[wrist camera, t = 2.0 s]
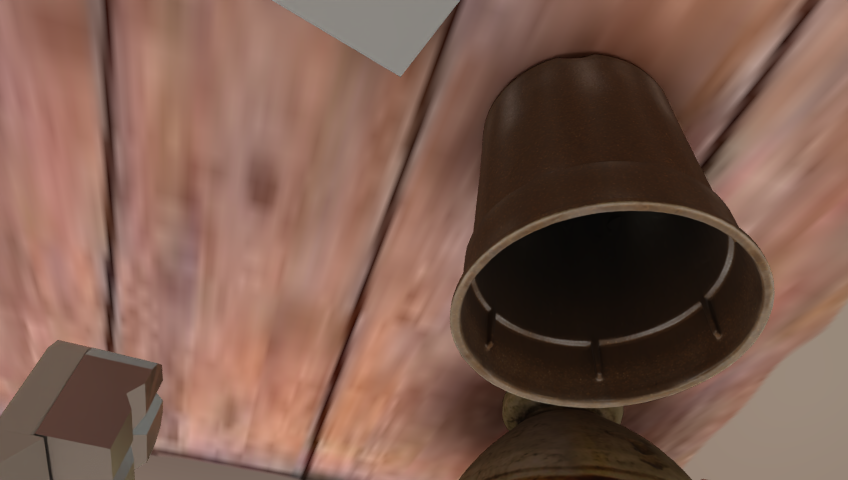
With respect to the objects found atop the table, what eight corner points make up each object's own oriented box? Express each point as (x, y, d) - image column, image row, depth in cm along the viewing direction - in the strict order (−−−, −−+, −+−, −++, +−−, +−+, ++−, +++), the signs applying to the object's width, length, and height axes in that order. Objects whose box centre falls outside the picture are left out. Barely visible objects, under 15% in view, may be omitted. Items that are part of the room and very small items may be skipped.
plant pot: (598, 252, 59) (634, 439, 48) (409, 171, 54) (396, 358, 43) (756, 92, 49) (848, 281, 38) (540, -25, 44) (570, 150, 33)
